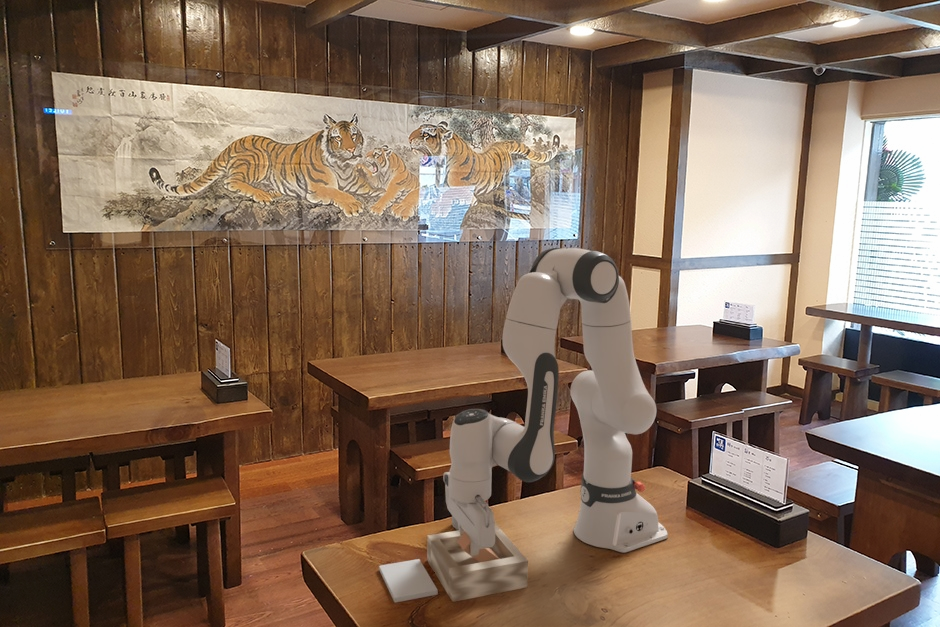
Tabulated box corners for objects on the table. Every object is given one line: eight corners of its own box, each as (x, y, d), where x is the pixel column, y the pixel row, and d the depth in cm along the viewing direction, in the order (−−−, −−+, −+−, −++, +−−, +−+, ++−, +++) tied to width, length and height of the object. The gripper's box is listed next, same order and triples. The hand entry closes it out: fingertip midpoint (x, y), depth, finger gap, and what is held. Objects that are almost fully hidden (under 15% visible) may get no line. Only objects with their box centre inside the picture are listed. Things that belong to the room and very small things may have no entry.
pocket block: (495, 548, 164) (496, 524, 163) (527, 587, 148) (528, 560, 147) (427, 560, 158) (427, 535, 157) (452, 601, 142) (453, 574, 141)
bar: (487, 564, 156) (496, 553, 157) (494, 573, 153) (503, 562, 153) (456, 541, 152) (465, 530, 153) (463, 550, 149) (472, 538, 149)
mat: (419, 563, 157) (419, 558, 157) (437, 594, 145) (437, 589, 145) (379, 570, 154) (379, 565, 154) (394, 602, 142) (394, 598, 142)
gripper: (503, 505, 141) (502, 569, 143) (467, 467, 159) (466, 524, 162) (474, 509, 138) (473, 575, 141) (440, 470, 157) (440, 528, 160)
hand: (469, 547), depth 152 cm, fingers closed on bar, 4 cm apart
